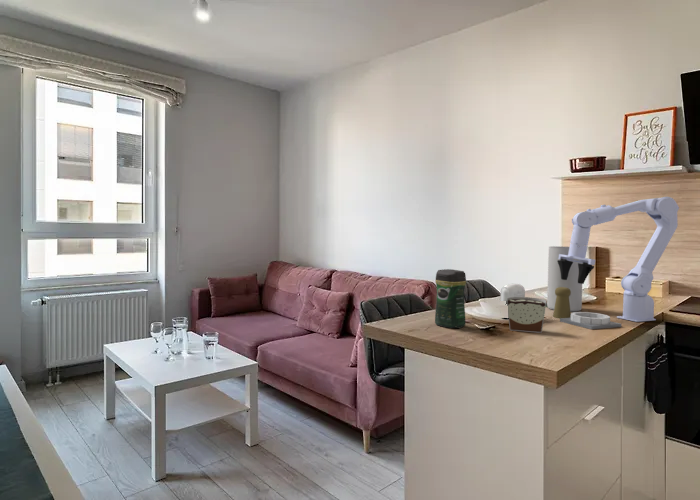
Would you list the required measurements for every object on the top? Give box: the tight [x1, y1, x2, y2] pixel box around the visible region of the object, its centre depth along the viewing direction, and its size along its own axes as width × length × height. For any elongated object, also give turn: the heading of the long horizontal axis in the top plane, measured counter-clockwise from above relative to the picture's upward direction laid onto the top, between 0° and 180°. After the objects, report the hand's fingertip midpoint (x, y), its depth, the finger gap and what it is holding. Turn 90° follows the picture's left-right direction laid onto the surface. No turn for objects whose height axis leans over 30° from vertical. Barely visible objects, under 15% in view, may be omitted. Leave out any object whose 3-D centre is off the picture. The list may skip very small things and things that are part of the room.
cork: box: [552, 287, 572, 320], centre depth 160 cm, size 6×6×11 cm
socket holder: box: [559, 311, 623, 330], centre depth 149 cm, size 13×13×3 cm
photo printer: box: [499, 283, 526, 302], centre depth 159 cm, size 10×4×12 cm, turn 123°
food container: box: [505, 296, 549, 334], centre depth 140 cm, size 12×6×10 cm, turn 71°
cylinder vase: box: [546, 246, 583, 313], centre depth 177 cm, size 12×12×25 cm
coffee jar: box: [434, 268, 467, 329], centre depth 145 cm, size 10×8×19 cm
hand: (572, 281), depth 161 cm, fingers open, 7 cm apart
